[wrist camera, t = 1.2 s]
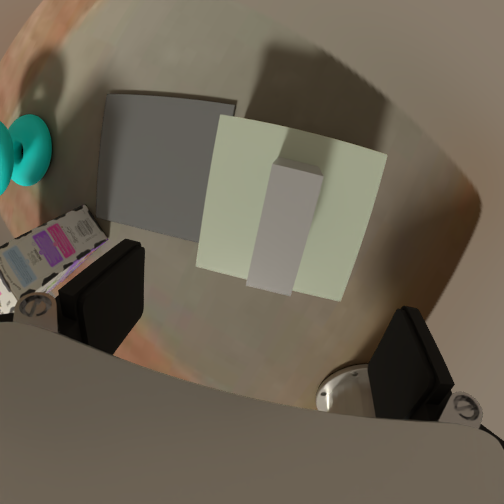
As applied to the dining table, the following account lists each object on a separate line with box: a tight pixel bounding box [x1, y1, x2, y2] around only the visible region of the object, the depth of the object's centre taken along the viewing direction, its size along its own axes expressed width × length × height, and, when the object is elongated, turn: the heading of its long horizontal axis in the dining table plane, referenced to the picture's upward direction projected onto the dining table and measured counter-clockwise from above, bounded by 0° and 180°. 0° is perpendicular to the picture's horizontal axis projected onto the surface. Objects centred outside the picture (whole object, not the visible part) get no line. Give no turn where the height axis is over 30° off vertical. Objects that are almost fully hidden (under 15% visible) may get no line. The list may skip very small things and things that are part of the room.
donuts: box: [0, 114, 52, 195], centre depth 28 cm, size 10×10×10 cm
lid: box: [196, 114, 387, 301], centre depth 22 cm, size 13×13×7 cm
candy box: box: [0, 205, 108, 314], centre depth 30 cm, size 14×6×16 cm, turn 124°
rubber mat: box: [96, 94, 236, 243], centre depth 31 cm, size 15×15×1 cm
